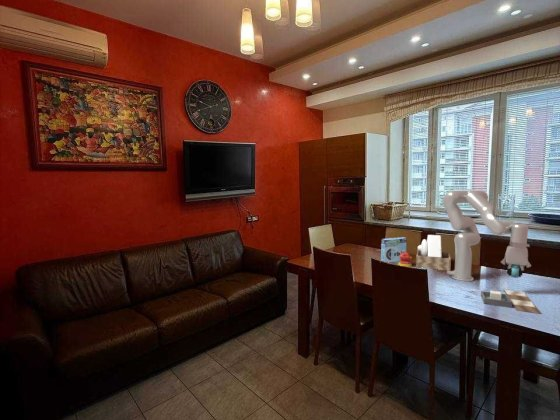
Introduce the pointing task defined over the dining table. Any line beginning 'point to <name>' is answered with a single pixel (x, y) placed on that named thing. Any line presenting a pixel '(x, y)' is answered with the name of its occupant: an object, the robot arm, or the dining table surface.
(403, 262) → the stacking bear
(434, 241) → the butter dish
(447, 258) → the dish corral
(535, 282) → the dining table surface
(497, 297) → the die
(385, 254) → the gum box
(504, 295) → the tray
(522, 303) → the board
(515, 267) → the pawn
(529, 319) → the dining table surface
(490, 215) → the robot arm
